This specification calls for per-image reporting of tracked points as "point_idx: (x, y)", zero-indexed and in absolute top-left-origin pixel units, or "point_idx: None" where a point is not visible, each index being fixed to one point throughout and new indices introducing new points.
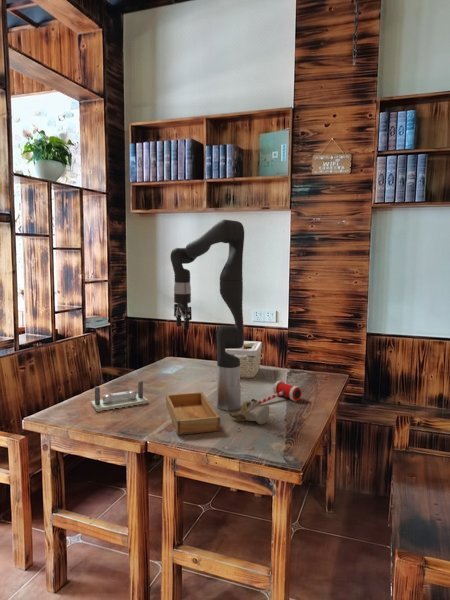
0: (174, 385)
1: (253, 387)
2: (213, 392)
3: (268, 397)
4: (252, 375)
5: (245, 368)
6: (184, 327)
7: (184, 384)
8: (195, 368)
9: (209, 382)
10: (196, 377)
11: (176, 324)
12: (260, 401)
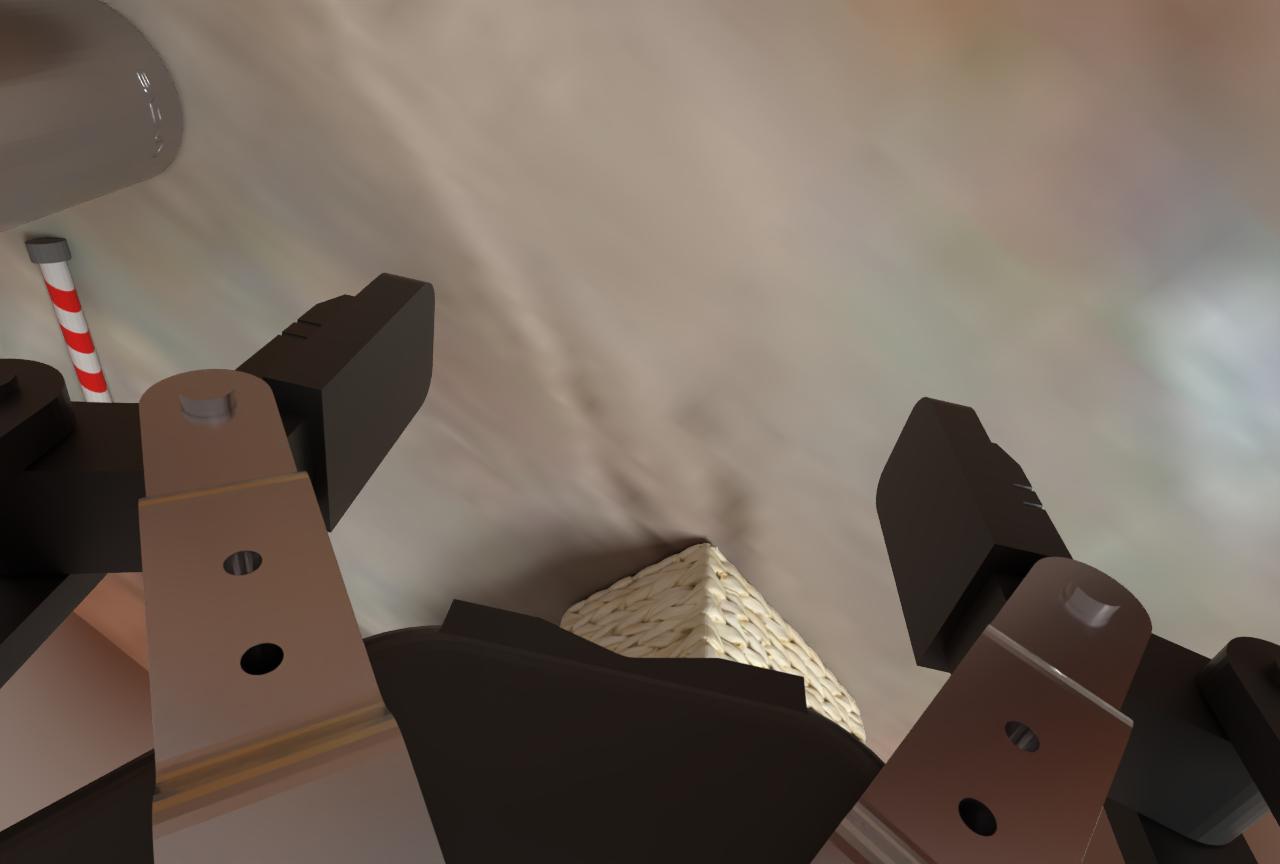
0: (837, 92)
1: (411, 493)
2: (454, 233)
3: (78, 371)
4: (564, 618)
5: (592, 637)
6: (370, 286)
7: (791, 188)
8: (1070, 536)
9: (687, 375)
10: (871, 390)
11: (979, 427)
12: (51, 297)
